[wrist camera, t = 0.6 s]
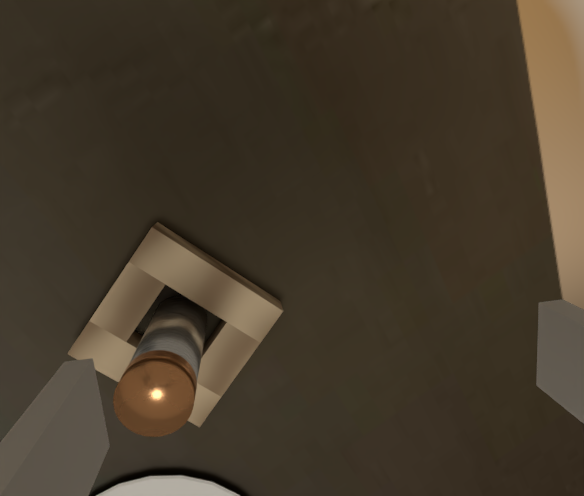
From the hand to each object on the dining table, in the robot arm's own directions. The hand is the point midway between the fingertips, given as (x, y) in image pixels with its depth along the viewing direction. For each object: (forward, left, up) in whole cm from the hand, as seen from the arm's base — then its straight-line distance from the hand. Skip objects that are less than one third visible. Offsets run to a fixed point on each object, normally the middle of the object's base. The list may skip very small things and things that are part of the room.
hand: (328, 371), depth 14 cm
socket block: (-2, -11, -26) cm, 28 cm away
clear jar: (-2, -11, -26) cm, 28 cm away
